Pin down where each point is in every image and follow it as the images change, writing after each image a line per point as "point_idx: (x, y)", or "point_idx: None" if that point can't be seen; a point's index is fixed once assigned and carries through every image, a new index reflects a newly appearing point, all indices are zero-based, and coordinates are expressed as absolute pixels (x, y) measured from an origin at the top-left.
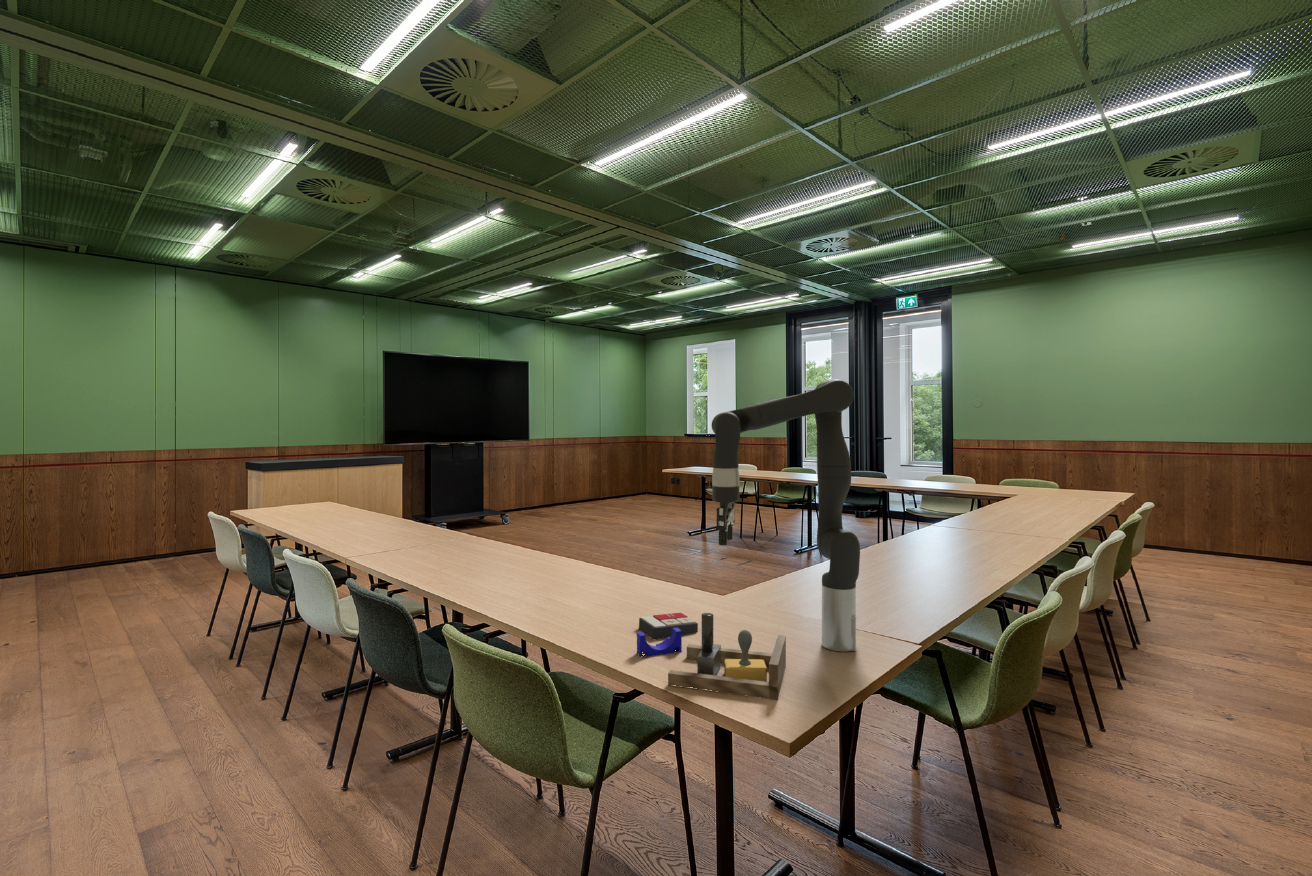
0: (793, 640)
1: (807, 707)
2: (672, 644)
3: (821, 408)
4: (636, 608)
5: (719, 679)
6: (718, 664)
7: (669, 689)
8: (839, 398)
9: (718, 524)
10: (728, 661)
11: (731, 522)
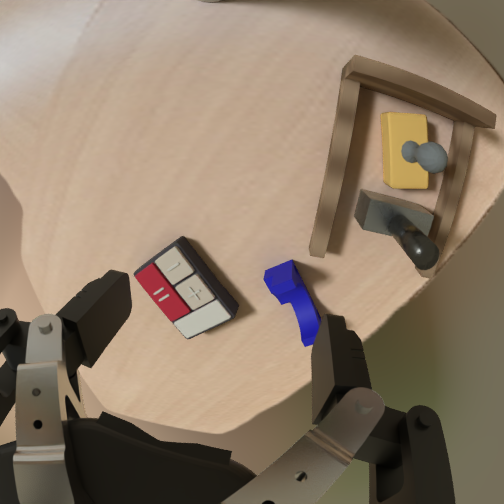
0: (195, 48)
1: (477, 79)
2: (299, 281)
3: None
4: None
5: (458, 201)
6: (384, 196)
7: None
8: None
9: (398, 476)
10: (405, 182)
11: (64, 358)
